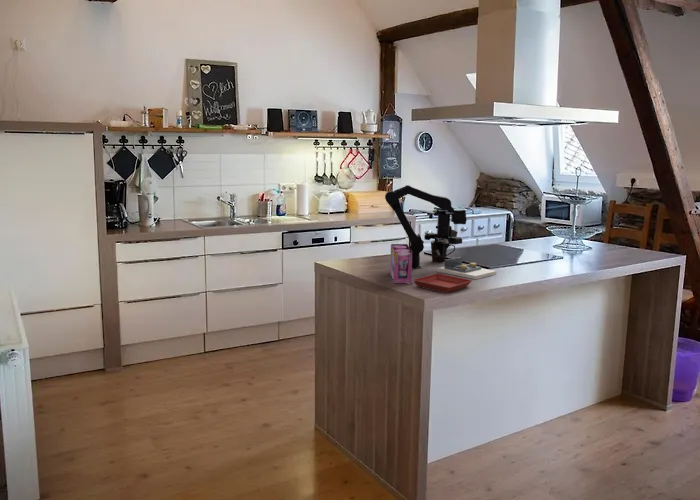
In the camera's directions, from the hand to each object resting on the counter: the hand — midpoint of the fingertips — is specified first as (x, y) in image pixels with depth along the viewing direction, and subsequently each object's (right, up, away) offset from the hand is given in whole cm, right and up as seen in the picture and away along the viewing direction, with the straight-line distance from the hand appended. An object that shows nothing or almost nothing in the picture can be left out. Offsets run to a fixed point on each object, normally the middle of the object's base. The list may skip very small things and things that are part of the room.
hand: (442, 256), depth 299 cm
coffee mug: (+2, -3, +16) cm, 17 cm away
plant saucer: (-5, -13, -36) cm, 39 cm away
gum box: (-22, -10, -22) cm, 32 cm away
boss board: (+10, -7, -9) cm, 15 cm away
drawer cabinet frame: (+8, -6, -8) cm, 13 cm away
